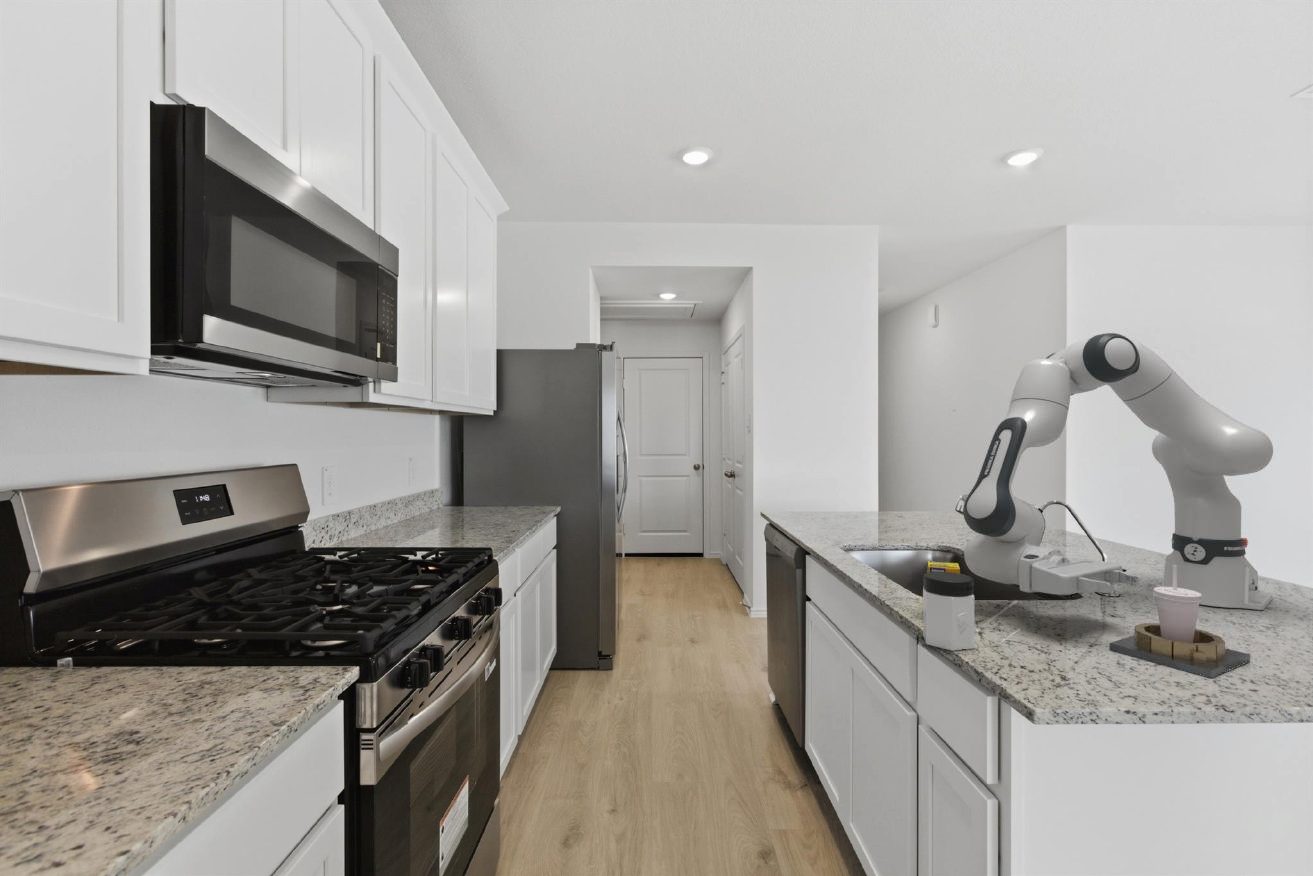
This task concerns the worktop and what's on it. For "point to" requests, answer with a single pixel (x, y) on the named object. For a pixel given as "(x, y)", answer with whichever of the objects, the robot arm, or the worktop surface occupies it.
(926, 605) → the jar
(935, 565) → the supplement box
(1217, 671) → the socket
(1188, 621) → the smoothie
